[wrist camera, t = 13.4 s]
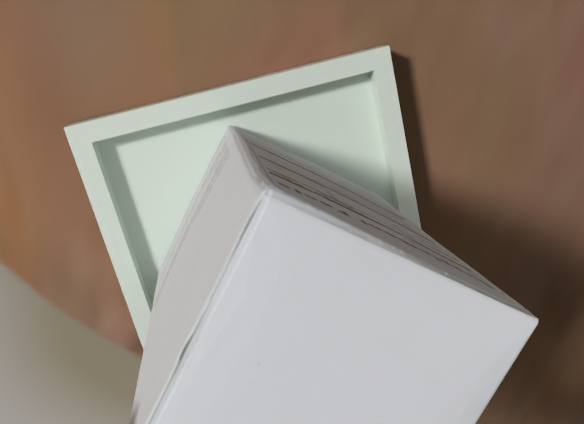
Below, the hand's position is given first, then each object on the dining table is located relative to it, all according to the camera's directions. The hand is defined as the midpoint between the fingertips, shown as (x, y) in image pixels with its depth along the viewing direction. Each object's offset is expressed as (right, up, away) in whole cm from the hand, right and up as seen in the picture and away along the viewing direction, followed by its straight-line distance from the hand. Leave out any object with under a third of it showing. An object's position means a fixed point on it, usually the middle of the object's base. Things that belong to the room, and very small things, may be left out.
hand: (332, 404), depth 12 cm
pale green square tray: (-2, +3, +13) cm, 14 cm away
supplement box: (-2, +3, +13) cm, 13 cm away
